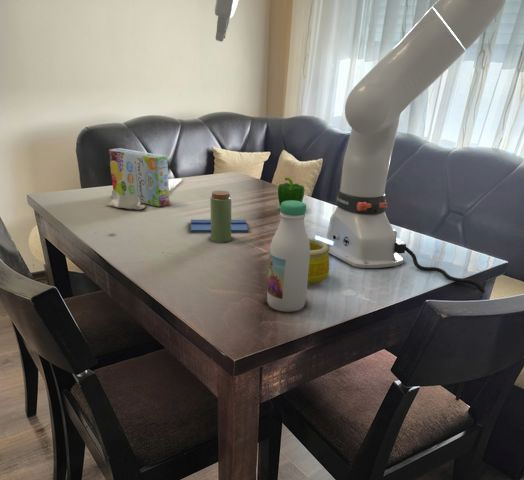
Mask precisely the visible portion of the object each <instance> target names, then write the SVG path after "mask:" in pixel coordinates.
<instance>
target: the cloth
mask: <svg viewBox="0 0 524 480" xmlns="http://www.w3.org/2000/svg"><path fill="white" fill-rule="evenodd" d="M190 232H191V233H211V219H190ZM231 233H249V228H248V224H247V220H246V219H231Z"/></svg>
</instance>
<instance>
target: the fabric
mask: <svg viewBox="0 0 524 480" xmlns="http://www.w3.org/2000/svg"><path fill="white" fill-rule="evenodd" d="M111 197H112V199H111V200H110V202H109V203H108V206H110V207H114V208H116V209H117V208H118V209H127V210H136V211H137V210H142V209H144V208H146V205H141V204H142V203H141V202H140V199H139V196H138V194H132V195H124V196H123V195H119V194H118V192H117V191H113V190H111Z"/></svg>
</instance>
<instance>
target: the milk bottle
mask: <svg viewBox="0 0 524 480" xmlns="http://www.w3.org/2000/svg"><path fill="white" fill-rule="evenodd" d="M279 209H280V213H279V215H280V221H279V224H278V227H277V229H276V231H275V233H274V235H273V237H272V239H271V242H270V247H269V257H268V273H267V288H266V289H267V292H266V293H267V294H266V302H267V305H268V306H269V307H270V308H272V309H273V310H275V311H278V312H279V311H280V312H286V313H287V312H289V313H291V312H297V311H299V310H302V309H303V308H304V307H305V305H306V300H307V290H308V285H307V282H308V271H309V260H310V243H309V239H308V238H309V236H308V233H307V231H306V226H305V218H306V213H307V204H306V203H305V202H303V201H302V202H300V201H292V200H290V201H284V202H282V203H281V206H280V205H279Z"/></svg>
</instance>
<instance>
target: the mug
mask: <svg viewBox="0 0 524 480" xmlns="http://www.w3.org/2000/svg"><path fill="white" fill-rule="evenodd" d="M308 239H309V243H310V260H309V271H308V282H307V286H313V285H318V284H320V283H323V282H324V281H326V280H327V278H328V277H329V273H330V253H329V252H328V251H329V246H328V245H327V244H326V243H325V242H323V241H320V240H317V239H315V238H312V237H308Z"/></svg>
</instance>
